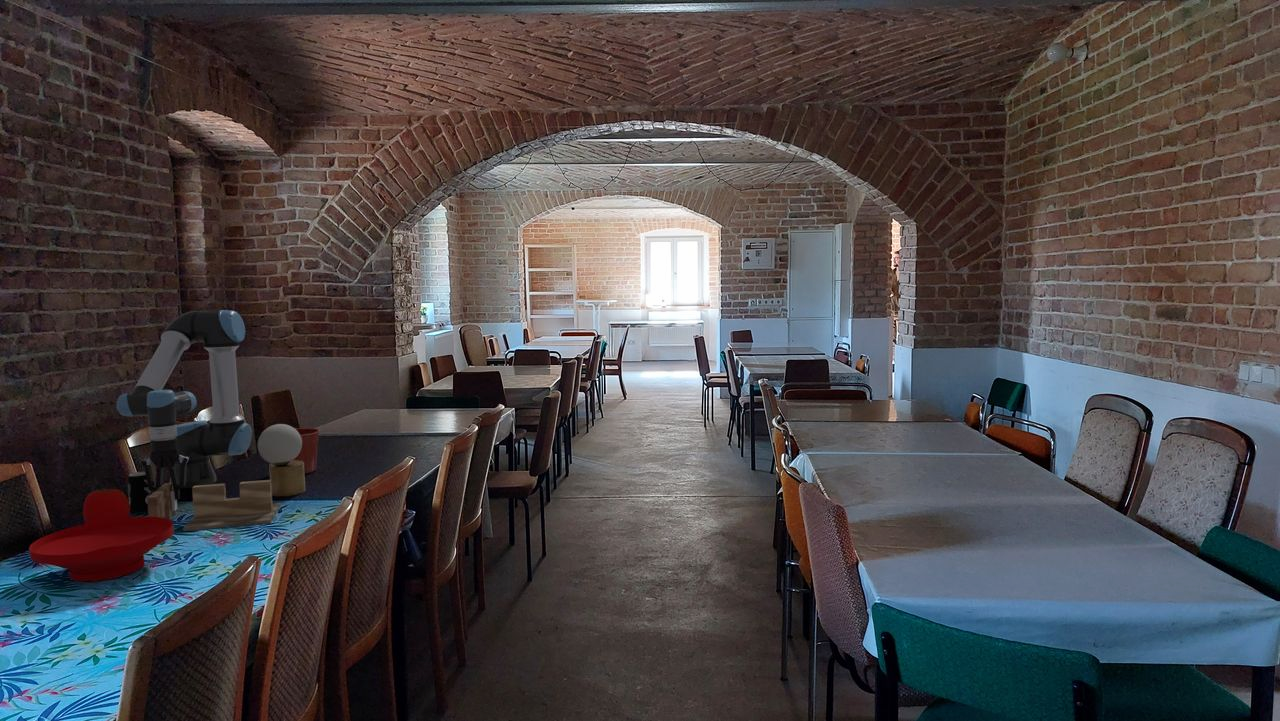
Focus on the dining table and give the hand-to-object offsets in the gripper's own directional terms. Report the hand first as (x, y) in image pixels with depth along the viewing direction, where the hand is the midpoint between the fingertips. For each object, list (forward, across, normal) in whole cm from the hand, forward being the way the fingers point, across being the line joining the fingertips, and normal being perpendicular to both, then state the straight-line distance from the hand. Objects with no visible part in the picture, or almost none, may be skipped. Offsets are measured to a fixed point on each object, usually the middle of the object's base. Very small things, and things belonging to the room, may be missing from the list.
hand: (169, 510), depth 249 cm
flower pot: (+2, +33, +50) cm, 60 cm away
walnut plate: (+2, 0, -7) cm, 7 cm away
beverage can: (+2, -11, +11) cm, 16 cm away
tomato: (+2, -12, -16) cm, 20 cm away
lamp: (+2, +32, +15) cm, 35 cm away
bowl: (+2, -1, -52) cm, 52 cm away
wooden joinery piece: (+2, +21, -11) cm, 24 cm away
